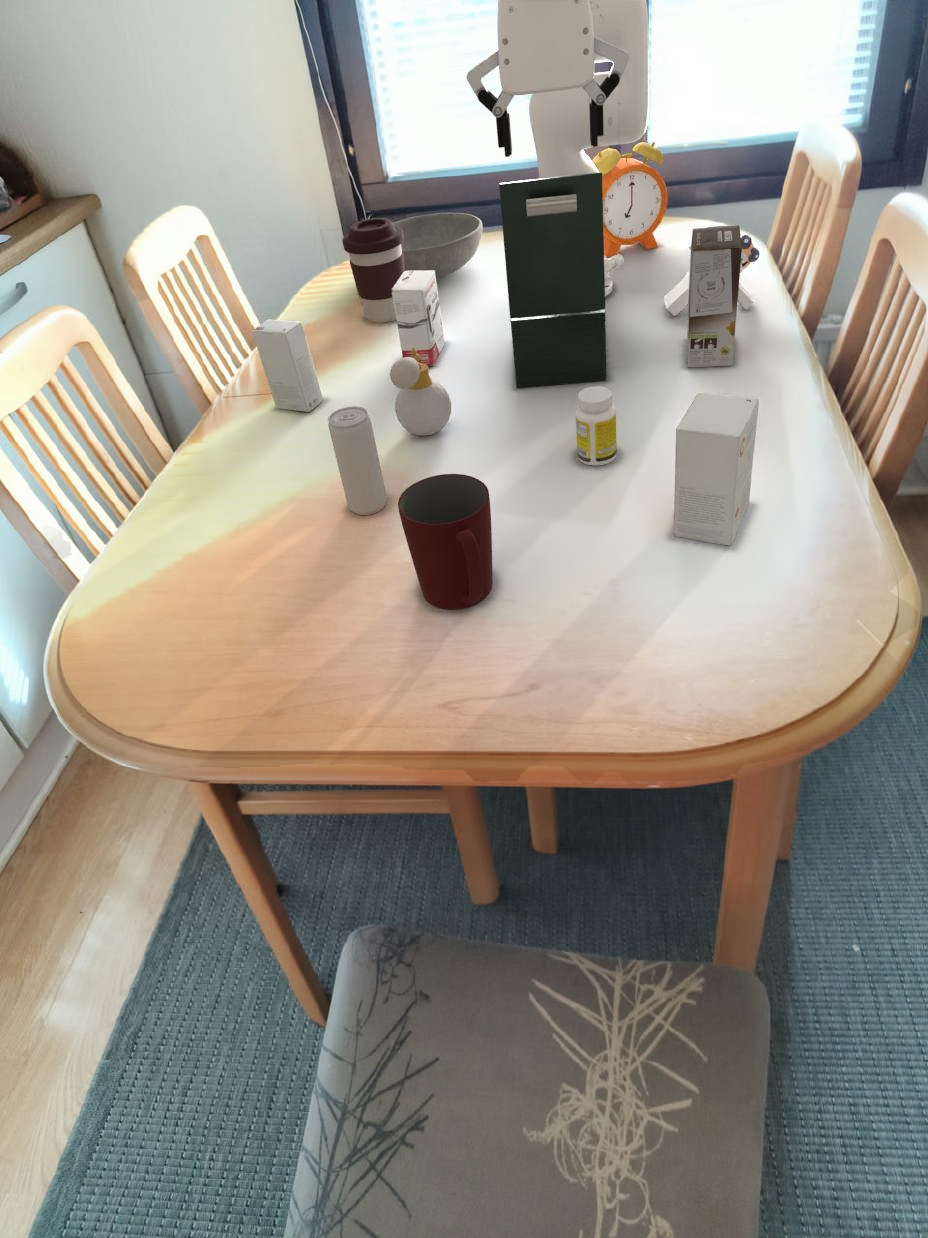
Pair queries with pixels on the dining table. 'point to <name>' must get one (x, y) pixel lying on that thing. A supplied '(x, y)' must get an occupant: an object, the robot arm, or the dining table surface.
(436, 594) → the mug
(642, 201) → the alarm clock
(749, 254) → the figurine
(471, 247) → the bowl
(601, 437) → the supplement bottle
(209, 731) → the dining table surface
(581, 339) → the bin
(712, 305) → the coffee box
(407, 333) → the ink box
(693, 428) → the small box
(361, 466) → the beverage can
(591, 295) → the dark green block
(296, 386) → the cosmetic box
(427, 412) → the perfume bottle
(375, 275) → the coffee cup
